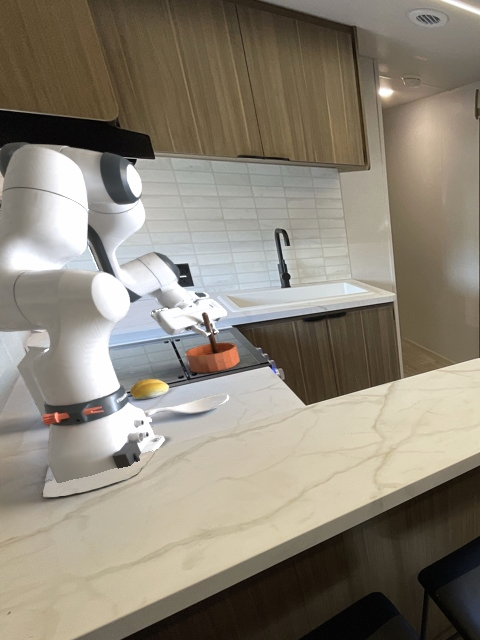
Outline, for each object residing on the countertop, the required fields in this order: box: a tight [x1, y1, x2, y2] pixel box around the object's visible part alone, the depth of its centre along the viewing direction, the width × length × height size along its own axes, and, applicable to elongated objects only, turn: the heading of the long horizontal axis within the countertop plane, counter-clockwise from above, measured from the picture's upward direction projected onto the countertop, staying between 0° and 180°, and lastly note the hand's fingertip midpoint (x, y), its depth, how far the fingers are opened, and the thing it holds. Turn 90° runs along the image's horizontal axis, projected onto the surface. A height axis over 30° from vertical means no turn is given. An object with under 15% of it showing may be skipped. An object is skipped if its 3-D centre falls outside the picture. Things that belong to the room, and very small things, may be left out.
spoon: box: [142, 393, 230, 417], centre depth 100 cm, size 9×32×4 cm, turn 130°
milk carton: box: [16, 345, 50, 417], centre depth 99 cm, size 7×7×19 cm
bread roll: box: [129, 378, 170, 401], centre depth 115 cm, size 8×9×4 cm
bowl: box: [184, 342, 241, 374], centre depth 135 cm, size 14×14×6 cm
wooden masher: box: [202, 312, 221, 355], centre depth 132 cm, size 6×6×17 cm
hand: (212, 335), depth 132 cm, fingers closed on wooden masher
